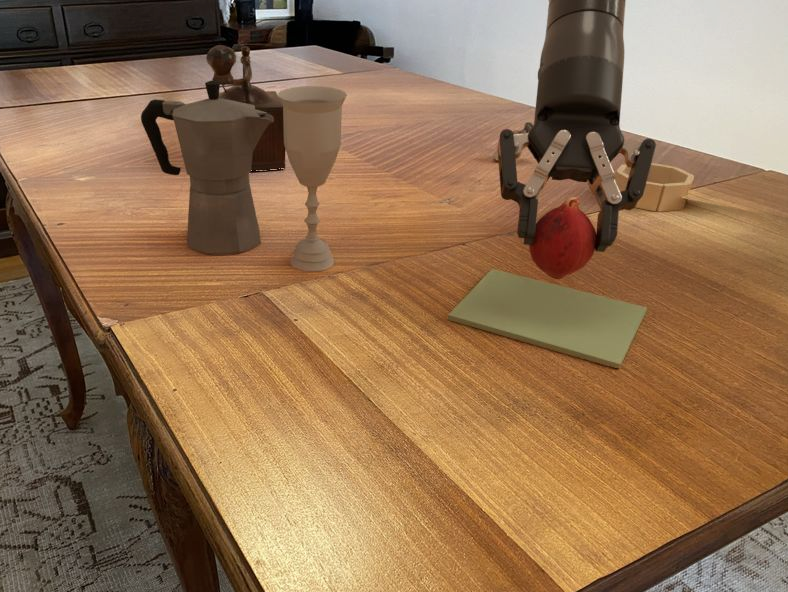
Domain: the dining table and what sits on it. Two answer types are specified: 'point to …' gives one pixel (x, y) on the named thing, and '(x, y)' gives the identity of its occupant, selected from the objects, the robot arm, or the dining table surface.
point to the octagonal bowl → (660, 187)
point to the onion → (563, 240)
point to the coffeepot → (213, 167)
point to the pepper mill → (272, 140)
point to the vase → (525, 130)
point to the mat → (551, 317)
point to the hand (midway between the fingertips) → (565, 244)
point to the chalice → (312, 158)
